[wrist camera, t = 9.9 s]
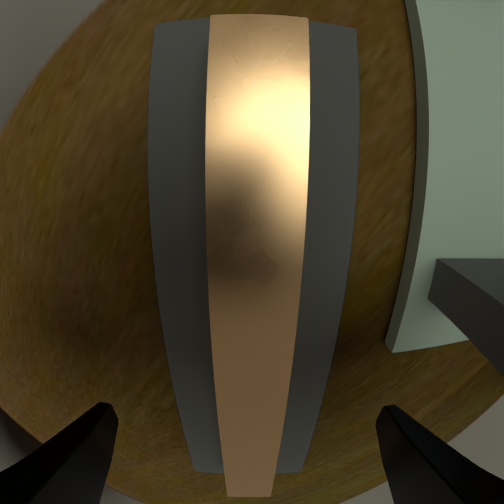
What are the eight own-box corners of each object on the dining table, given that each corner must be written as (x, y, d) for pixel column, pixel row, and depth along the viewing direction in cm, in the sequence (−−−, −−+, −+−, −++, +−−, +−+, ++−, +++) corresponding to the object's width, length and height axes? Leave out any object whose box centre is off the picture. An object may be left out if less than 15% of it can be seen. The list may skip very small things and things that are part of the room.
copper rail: (268, 465, 16) (270, 496, 14) (229, 464, 16) (227, 496, 14) (294, 48, 9) (308, 17, 6) (219, 46, 9) (210, 14, 6)
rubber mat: (300, 467, 17) (300, 471, 17) (195, 466, 17) (195, 471, 17) (352, 32, 9) (356, 28, 8) (158, 28, 9) (155, 23, 8)
